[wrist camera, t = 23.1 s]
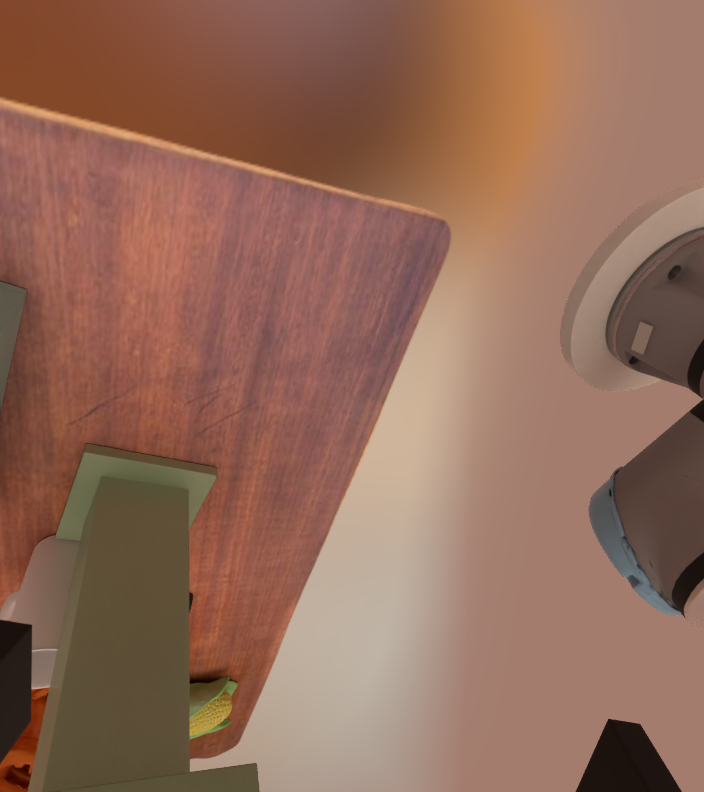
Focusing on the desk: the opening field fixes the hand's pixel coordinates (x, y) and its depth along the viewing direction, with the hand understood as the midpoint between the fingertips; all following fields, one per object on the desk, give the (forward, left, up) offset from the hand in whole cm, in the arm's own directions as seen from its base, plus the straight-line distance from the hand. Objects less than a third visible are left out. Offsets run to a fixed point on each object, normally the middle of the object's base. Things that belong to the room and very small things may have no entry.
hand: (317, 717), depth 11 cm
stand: (+11, +22, -32) cm, 40 cm away
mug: (+23, +32, -32) cm, 50 cm away
